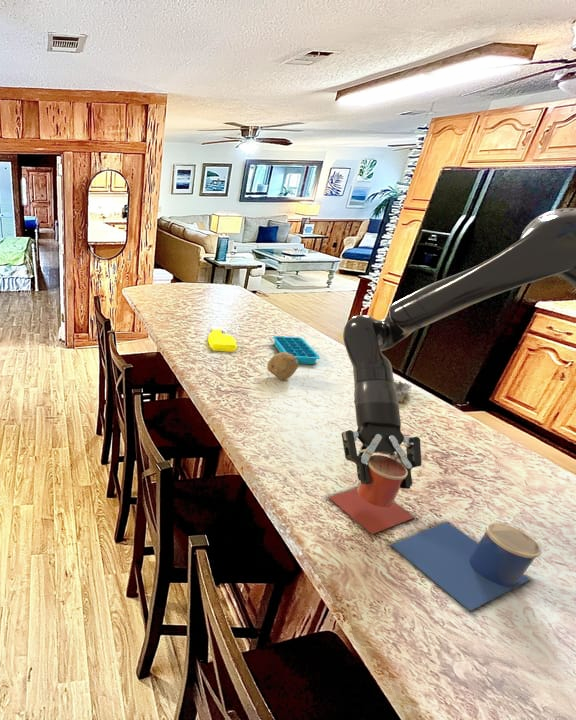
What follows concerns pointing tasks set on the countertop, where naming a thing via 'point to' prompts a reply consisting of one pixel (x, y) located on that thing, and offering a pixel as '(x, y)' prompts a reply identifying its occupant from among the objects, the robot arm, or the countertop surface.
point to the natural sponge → (282, 365)
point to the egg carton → (401, 390)
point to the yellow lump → (221, 340)
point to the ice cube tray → (296, 349)
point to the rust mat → (370, 512)
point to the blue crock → (504, 554)
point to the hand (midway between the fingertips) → (385, 486)
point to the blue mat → (451, 564)
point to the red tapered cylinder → (382, 481)
